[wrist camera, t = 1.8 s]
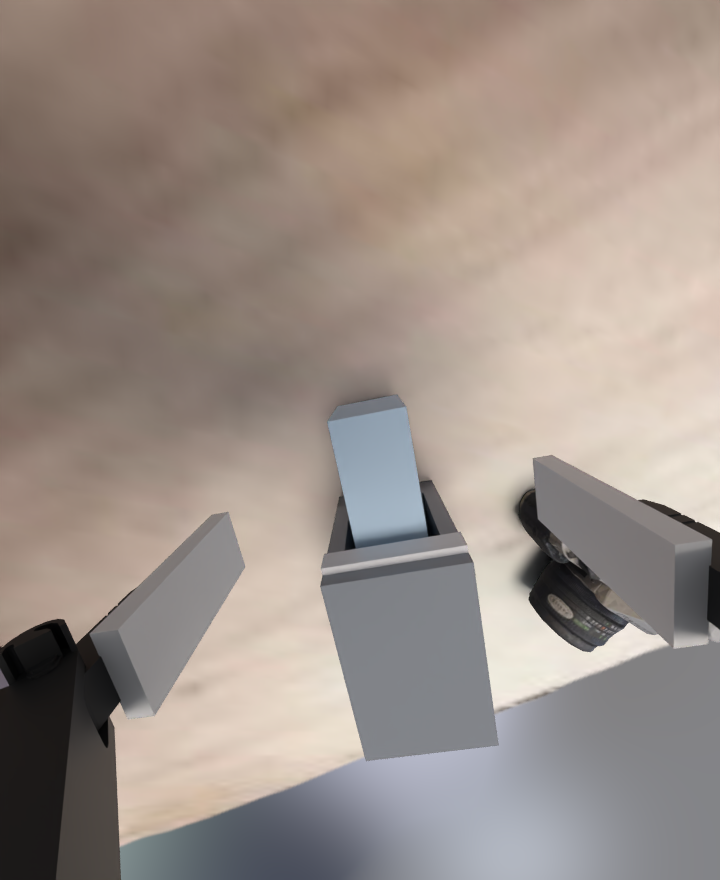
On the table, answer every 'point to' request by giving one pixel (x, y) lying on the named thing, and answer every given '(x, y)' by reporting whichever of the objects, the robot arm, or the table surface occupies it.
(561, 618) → the camera
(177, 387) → the table surface
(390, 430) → the tall blue-grey block
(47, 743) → the robot arm
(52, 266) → the table surface
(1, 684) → the container
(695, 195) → the table surface
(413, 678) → the dispenser
